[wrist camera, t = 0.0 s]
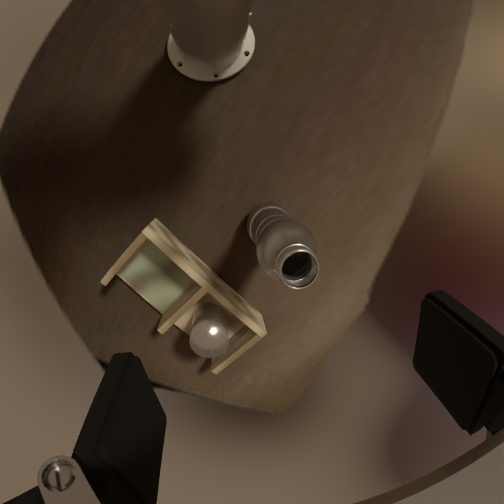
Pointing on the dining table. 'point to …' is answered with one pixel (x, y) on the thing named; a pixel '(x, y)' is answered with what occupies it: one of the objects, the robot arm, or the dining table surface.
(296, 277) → the plastic bottle
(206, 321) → the grey short cylinder
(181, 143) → the dining table surface
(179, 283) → the divider rack
